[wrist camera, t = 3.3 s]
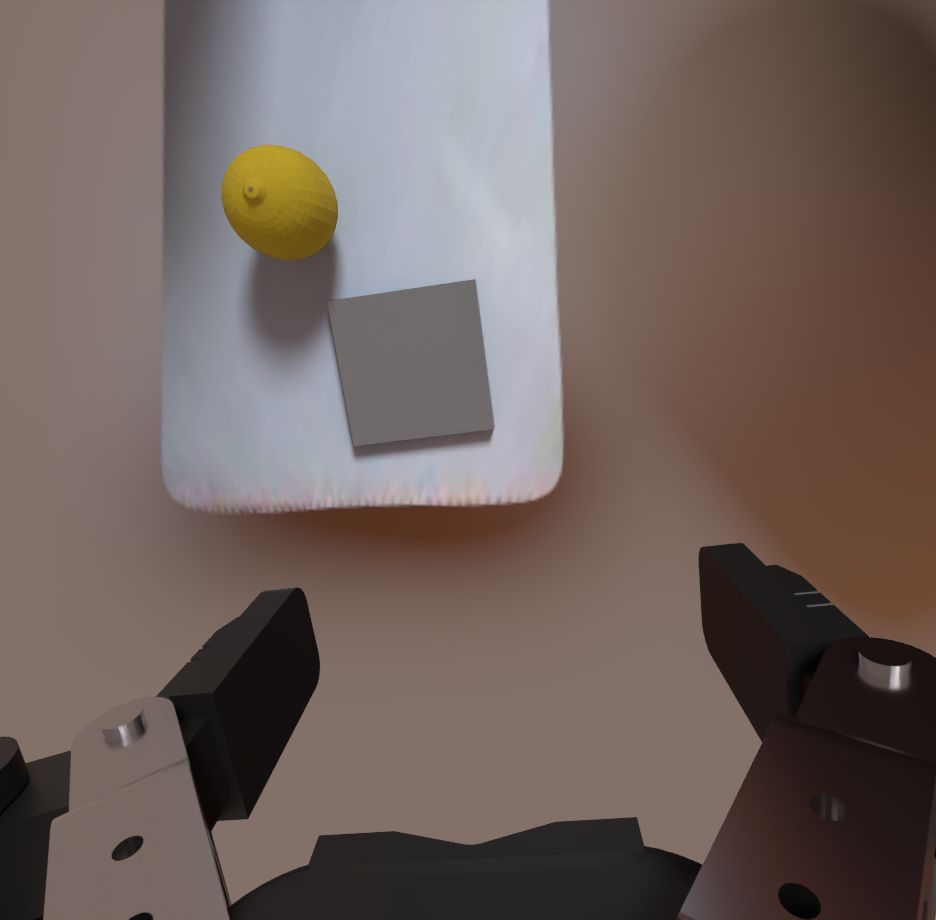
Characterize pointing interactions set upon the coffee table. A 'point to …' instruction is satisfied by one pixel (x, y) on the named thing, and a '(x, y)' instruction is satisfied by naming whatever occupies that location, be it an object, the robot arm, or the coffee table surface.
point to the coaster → (412, 363)
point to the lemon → (279, 202)
